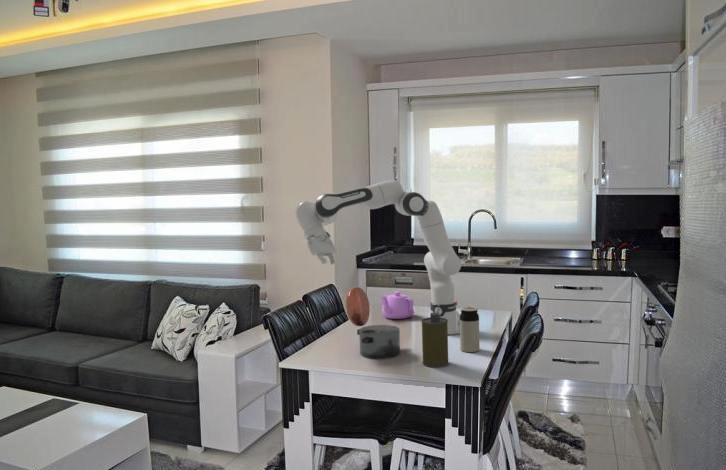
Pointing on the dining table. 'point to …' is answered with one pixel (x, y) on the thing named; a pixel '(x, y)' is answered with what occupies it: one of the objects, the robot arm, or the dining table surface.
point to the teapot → (397, 306)
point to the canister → (435, 341)
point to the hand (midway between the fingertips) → (329, 263)
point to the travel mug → (469, 329)
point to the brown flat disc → (357, 306)
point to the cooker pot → (379, 341)
